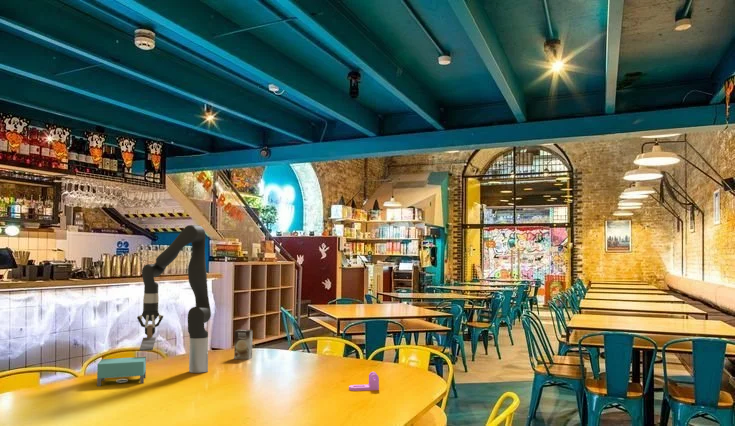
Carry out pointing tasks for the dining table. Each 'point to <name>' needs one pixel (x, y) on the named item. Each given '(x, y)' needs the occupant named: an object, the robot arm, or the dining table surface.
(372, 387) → the bracket
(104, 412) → the dining table surface
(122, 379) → the steel token
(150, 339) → the scraper tool
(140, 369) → the teal footstool
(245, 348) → the coffee box
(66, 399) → the dining table surface
